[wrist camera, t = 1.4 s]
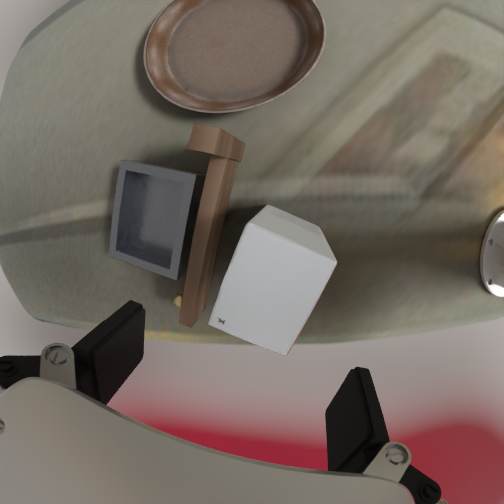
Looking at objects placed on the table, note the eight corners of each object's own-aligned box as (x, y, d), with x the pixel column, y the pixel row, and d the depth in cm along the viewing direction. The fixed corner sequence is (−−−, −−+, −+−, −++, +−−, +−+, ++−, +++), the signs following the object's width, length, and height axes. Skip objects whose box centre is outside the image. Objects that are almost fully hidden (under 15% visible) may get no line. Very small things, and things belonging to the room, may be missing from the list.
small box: (291, 290, 31) (286, 359, 19) (240, 268, 31) (204, 325, 19) (321, 225, 29) (340, 261, 16) (267, 202, 29) (244, 220, 16)
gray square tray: (207, 175, 29) (196, 174, 26) (188, 270, 32) (176, 280, 29) (137, 160, 30) (120, 160, 27) (124, 248, 33) (109, 255, 30)
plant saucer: (127, 83, 28) (113, 77, 24) (212, -27, 21) (205, -39, 18) (263, 152, 28) (258, 148, 25) (352, 22, 21) (357, 9, 18)
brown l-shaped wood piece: (245, 143, 28) (219, 127, 18) (207, 308, 33) (176, 354, 24) (219, 138, 28) (182, 121, 18) (185, 301, 34) (148, 343, 24)
